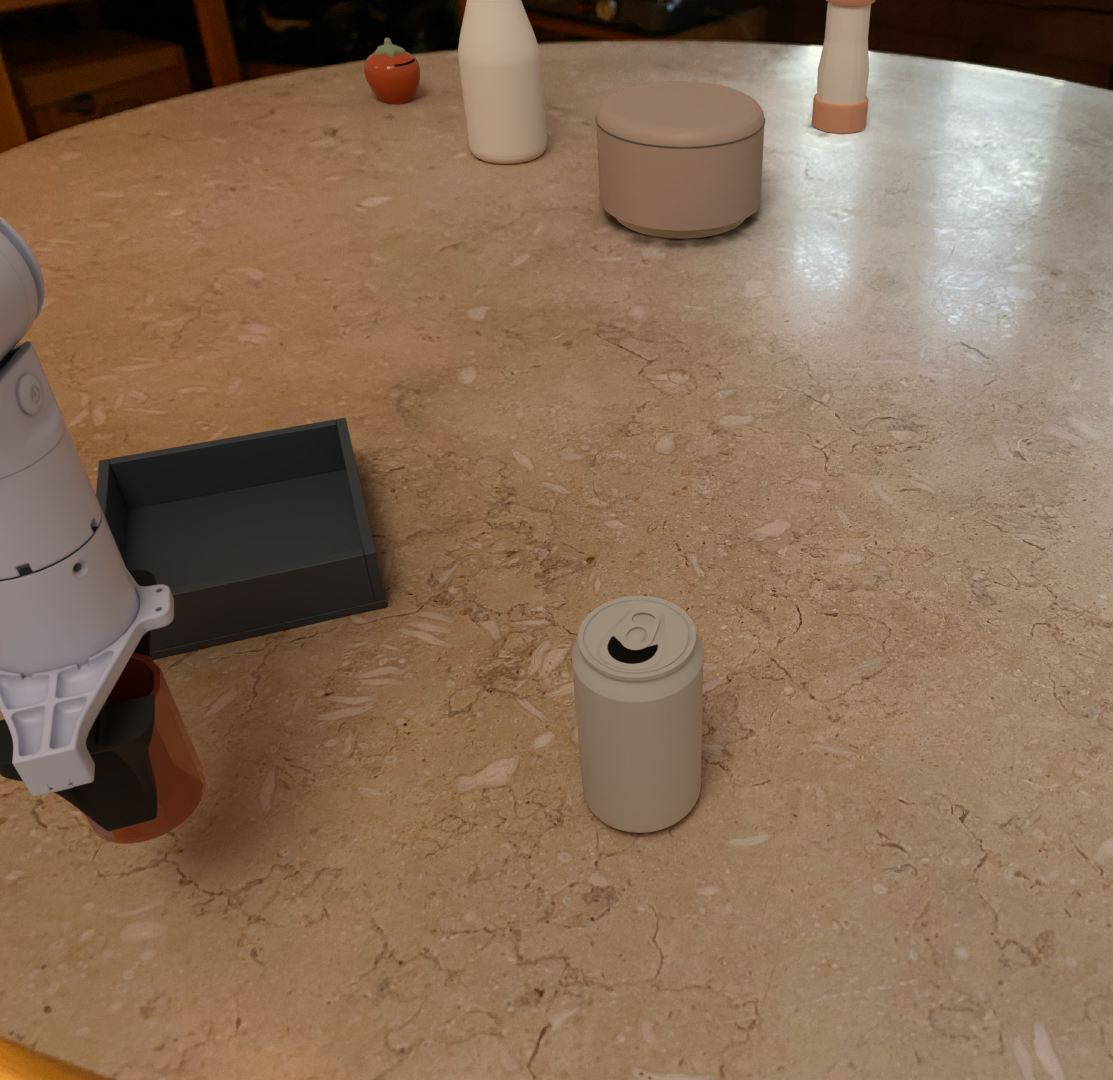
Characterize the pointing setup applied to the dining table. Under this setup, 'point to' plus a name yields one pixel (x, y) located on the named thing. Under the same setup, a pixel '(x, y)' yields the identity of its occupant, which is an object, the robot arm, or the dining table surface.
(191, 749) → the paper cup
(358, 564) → the bin
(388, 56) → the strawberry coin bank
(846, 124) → the pepper shaker
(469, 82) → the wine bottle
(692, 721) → the beverage can
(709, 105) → the container
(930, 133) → the dining table surface
